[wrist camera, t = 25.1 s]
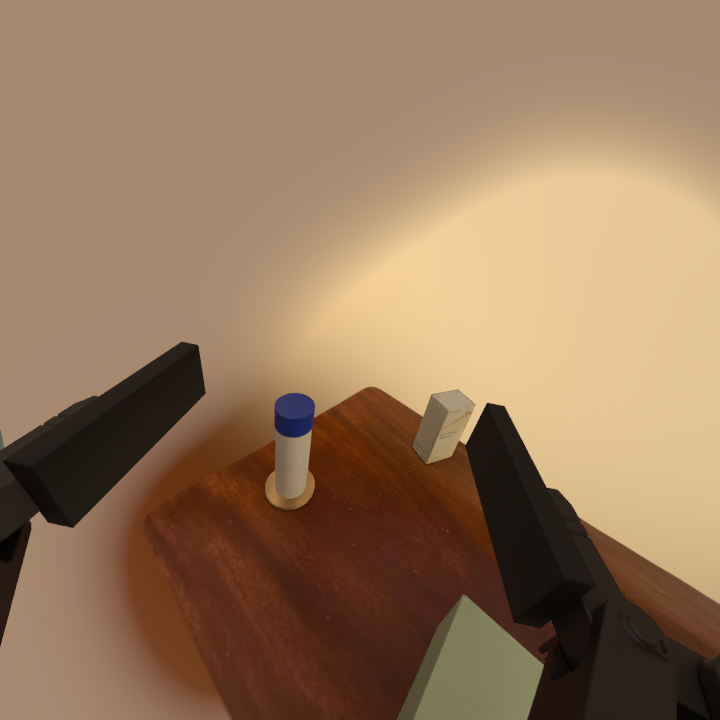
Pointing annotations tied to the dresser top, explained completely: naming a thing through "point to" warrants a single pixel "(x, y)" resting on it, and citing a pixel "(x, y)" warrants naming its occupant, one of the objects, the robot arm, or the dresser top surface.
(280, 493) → the bottle
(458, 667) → the cabinet
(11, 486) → the robot arm
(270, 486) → the coaster
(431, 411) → the cosmetic box
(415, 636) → the dresser top surface
